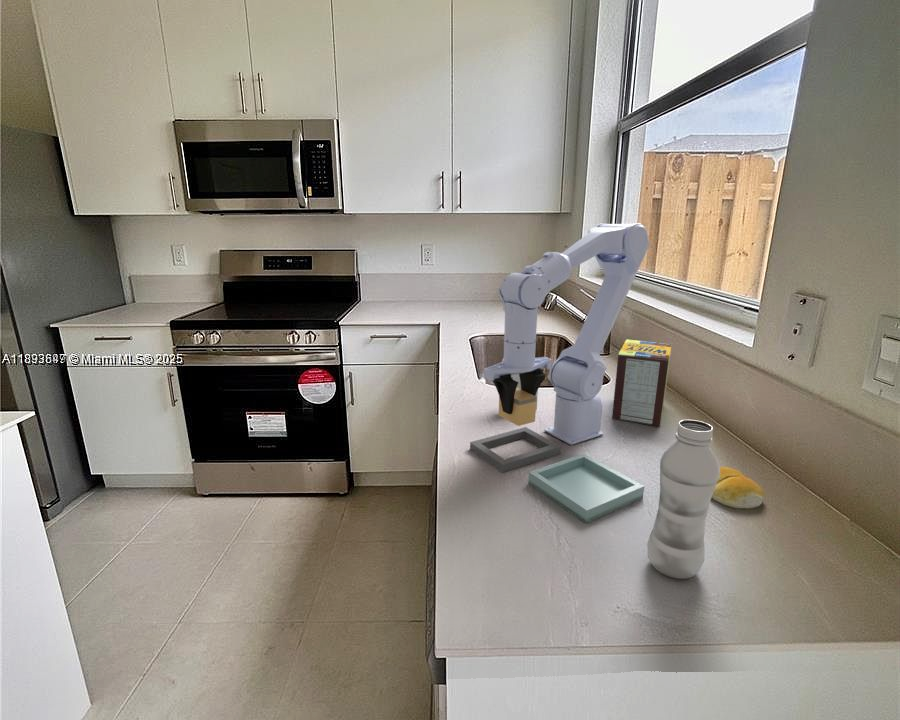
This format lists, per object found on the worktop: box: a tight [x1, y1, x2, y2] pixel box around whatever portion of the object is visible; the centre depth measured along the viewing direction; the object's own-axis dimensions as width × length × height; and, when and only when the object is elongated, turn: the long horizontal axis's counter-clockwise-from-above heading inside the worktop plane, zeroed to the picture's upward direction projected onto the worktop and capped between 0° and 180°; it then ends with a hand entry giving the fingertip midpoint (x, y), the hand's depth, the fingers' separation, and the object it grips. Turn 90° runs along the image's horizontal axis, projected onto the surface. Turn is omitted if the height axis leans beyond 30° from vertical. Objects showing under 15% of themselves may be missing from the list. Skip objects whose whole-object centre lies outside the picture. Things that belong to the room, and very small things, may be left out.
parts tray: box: [528, 453, 645, 524], centre depth 78 cm, size 13×13×2 cm
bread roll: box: [711, 466, 765, 509], centre depth 77 cm, size 8×9×4 cm
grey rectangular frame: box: [469, 426, 562, 473], centre depth 92 cm, size 14×10×2 cm
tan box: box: [498, 388, 538, 427], centre depth 89 cm, size 4×6×5 cm
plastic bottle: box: [646, 419, 721, 580], centre depth 58 cm, size 6×7×20 cm
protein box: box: [611, 339, 672, 428], centre depth 109 cm, size 10×15×16 cm
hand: (516, 409), depth 89 cm, fingers closed on tan box, 4 cm apart
